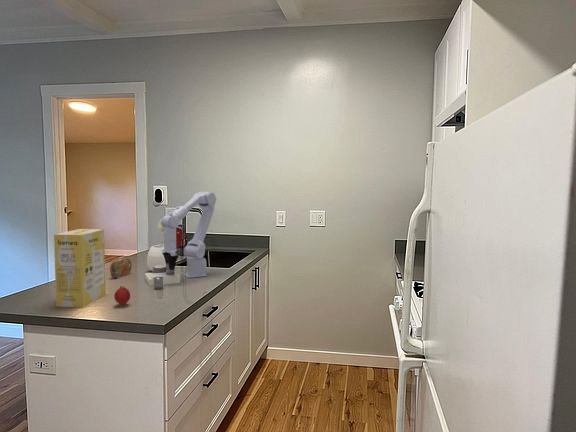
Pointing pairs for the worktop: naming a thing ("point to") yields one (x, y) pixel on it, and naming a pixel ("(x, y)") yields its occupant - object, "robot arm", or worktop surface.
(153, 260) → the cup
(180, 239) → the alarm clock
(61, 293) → the pasta box
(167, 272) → the cylinder
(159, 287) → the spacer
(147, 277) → the kitchen scale
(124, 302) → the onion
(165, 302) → the worktop surface
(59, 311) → the worktop surface
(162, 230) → the flower in vase
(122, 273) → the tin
